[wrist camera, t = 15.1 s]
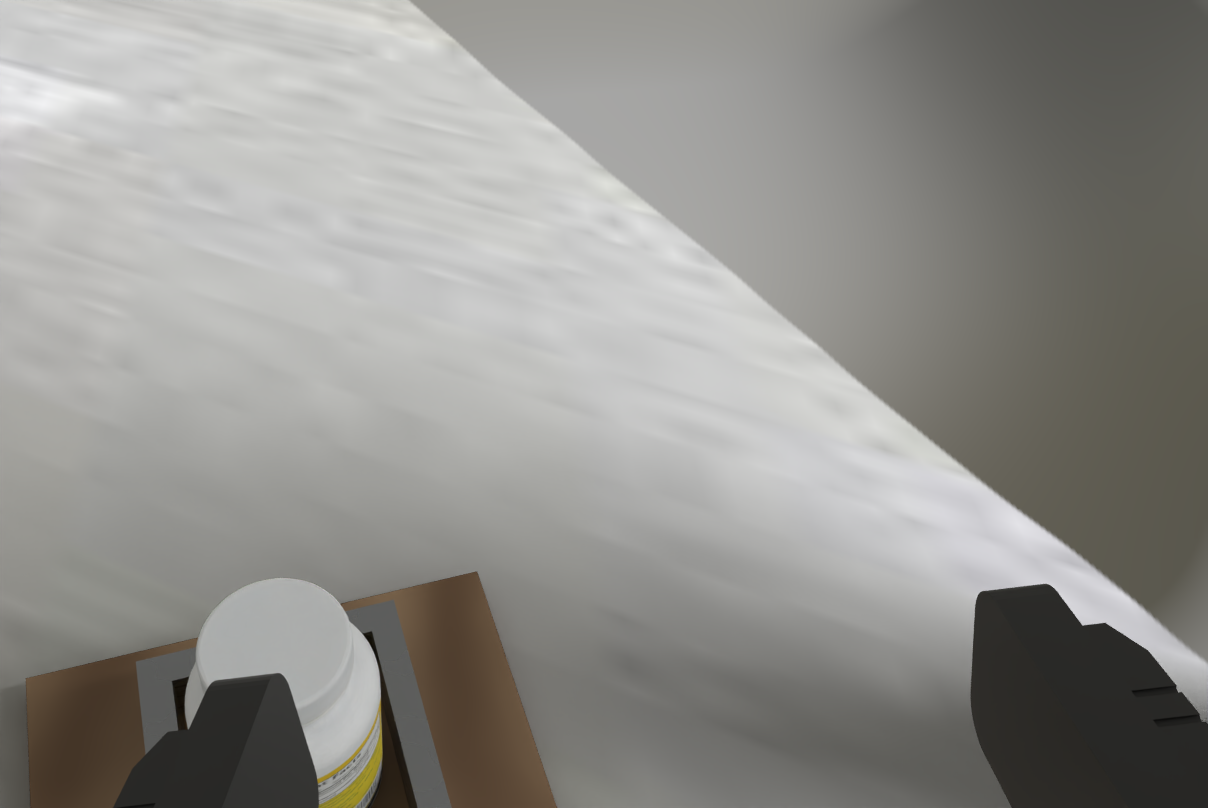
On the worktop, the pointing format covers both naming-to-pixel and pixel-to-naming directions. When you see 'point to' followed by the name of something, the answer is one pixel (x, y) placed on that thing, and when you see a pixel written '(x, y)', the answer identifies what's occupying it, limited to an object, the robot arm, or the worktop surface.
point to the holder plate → (449, 695)
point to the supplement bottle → (303, 677)
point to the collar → (399, 694)
